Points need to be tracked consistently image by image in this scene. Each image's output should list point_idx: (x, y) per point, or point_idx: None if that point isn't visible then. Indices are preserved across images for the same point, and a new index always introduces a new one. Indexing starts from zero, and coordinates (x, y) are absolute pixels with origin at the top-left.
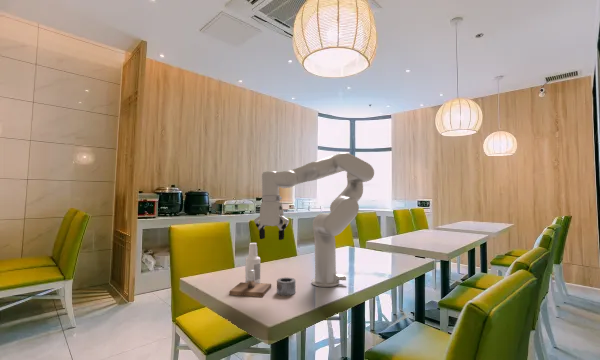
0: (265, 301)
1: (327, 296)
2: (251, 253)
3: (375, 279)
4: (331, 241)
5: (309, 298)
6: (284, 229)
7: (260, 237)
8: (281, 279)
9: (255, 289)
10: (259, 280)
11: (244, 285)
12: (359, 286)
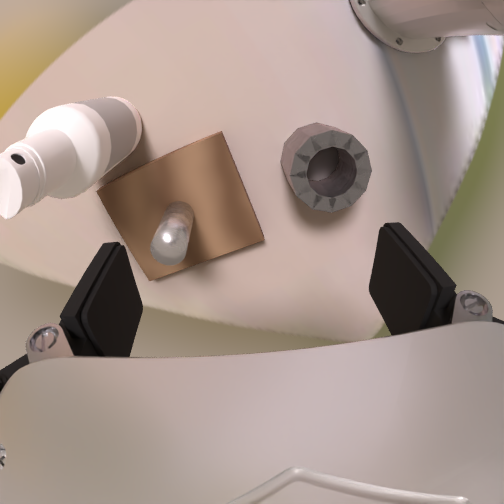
0: (296, 261)
1: (448, 140)
2: (52, 191)
3: None
4: None
5: (409, 178)
6: (471, 303)
7: (135, 320)
8: (306, 171)
9: (215, 227)
10: (138, 120)
11: (140, 213)
12: None
